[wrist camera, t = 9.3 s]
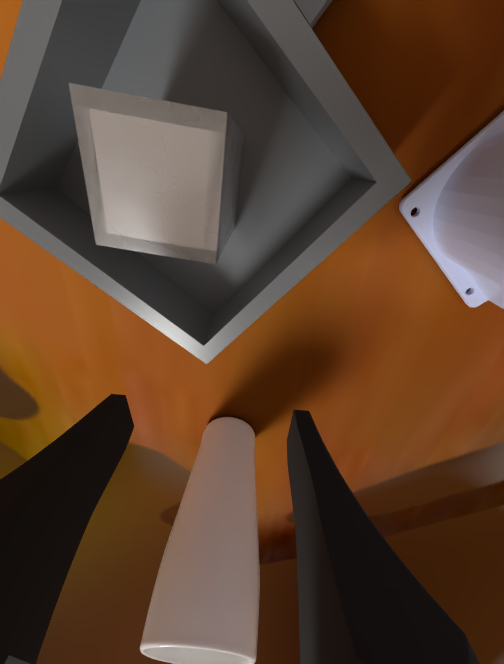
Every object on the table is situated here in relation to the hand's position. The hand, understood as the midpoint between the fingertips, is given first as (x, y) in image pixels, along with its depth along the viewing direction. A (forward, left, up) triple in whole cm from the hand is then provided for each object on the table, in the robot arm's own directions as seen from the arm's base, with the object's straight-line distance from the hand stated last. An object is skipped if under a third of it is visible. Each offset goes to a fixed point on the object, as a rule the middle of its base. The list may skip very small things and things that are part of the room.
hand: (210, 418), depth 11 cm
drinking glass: (-9, +11, -10) cm, 17 cm away
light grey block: (+7, -5, -9) cm, 13 cm away
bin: (+7, -5, -10) cm, 13 cm away
